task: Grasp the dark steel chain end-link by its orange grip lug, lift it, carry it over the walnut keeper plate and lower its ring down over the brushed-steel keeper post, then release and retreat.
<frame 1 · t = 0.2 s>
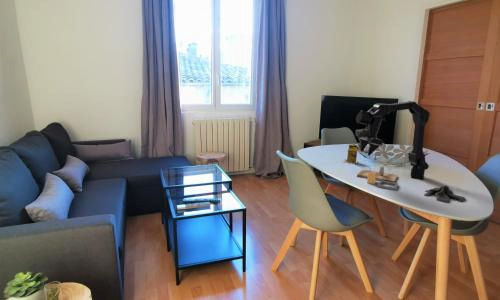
hand: (364, 153, 170), 15 cm above the table, tool pointing down, fingers open, 9 cm apart
keeper plate: (377, 176, 179), on the table
cloth: (440, 197, 151), on the table
link: (387, 186, 163), on the table
condiment: (350, 162, 210), on the table
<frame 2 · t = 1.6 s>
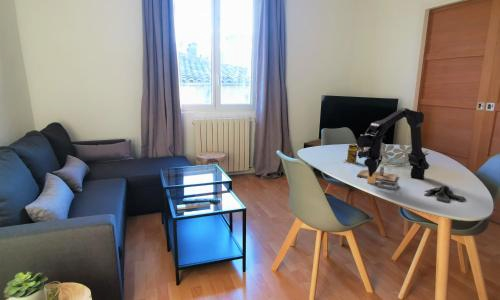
hand: (372, 174, 167), 5 cm above the table, tool pointing down, fingers open, 9 cm apart
nothing on the table moved.
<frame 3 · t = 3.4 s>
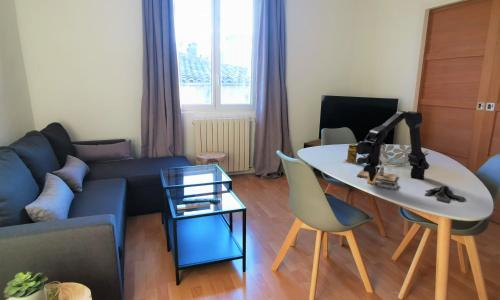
hand: (371, 180, 167), 2 cm above the table, tool pointing down, fingers closed on link
link: (387, 186, 163), on the table, touching gripper
everything else where it was.
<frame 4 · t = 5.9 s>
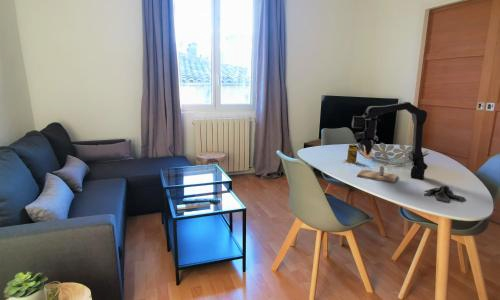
hand: (367, 154, 179), 12 cm above the table, tool pointing down, fingers closed on link
link: (381, 160, 176), point 10 cm above the table, touching gripper
everything else where it was.
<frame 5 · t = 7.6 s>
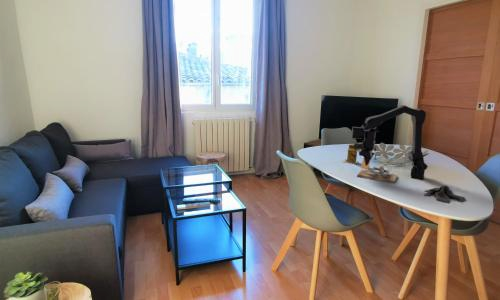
hand: (366, 164, 181), 6 cm above the table, tool pointing down, fingers closed on link
link: (379, 172, 178), point 3 cm above the table, tilted 7°, touching gripper
everything else where it was.
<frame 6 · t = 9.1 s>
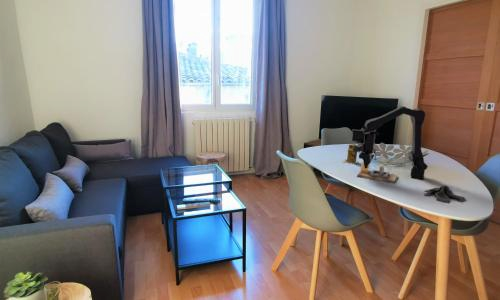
hand: (366, 167, 181), 5 cm above the table, tool pointing down, fingers open, 4 cm apart
link: (379, 175, 178), point 1 cm above the table, touching keeper plate
everything else where it was.
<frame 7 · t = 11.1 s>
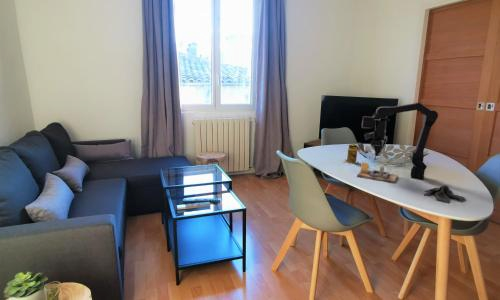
hand: (378, 154, 182), 12 cm above the table, tool pointing down, fingers open, 9 cm apart
nothing on the table moved.
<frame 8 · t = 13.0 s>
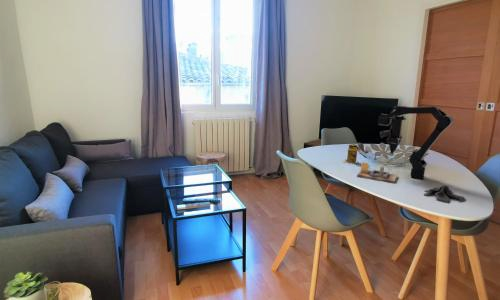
hand: (392, 152, 186), 13 cm above the table, tool pointing down, fingers open, 9 cm apart
nothing on the table moved.
at the end: link 0.9 cm from the target spot on the keeper plate, point 1.2 cm above the keeper plate's base; the gripper is holding nothing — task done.
